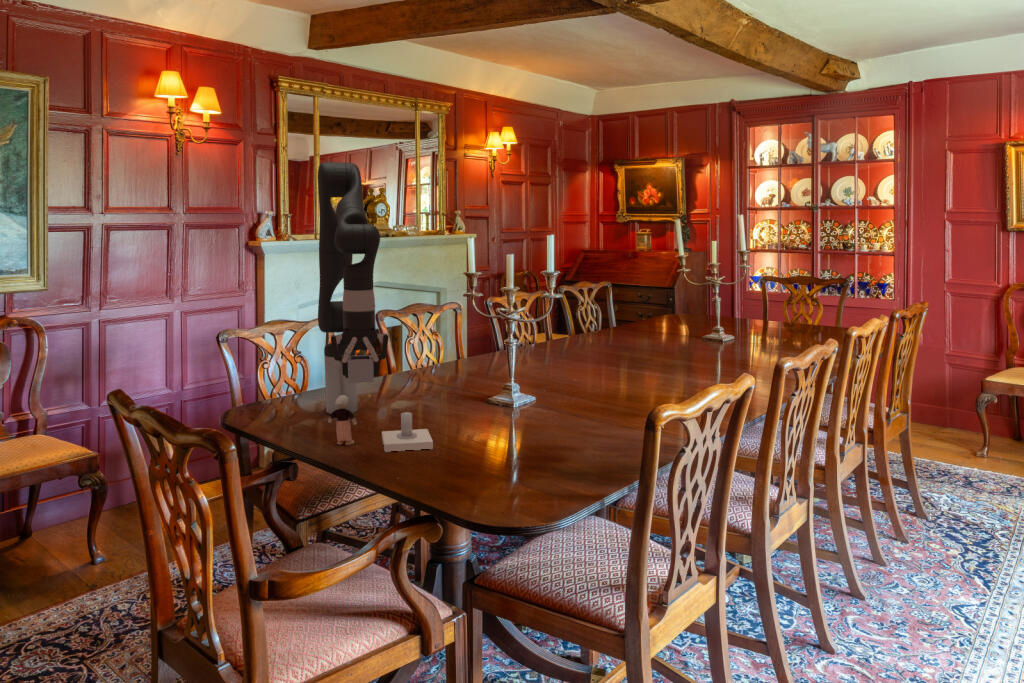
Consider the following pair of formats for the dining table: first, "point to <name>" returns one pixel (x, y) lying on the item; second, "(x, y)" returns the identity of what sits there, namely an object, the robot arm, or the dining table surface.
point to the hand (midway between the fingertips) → (360, 376)
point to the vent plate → (406, 437)
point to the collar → (360, 369)
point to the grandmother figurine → (343, 421)
